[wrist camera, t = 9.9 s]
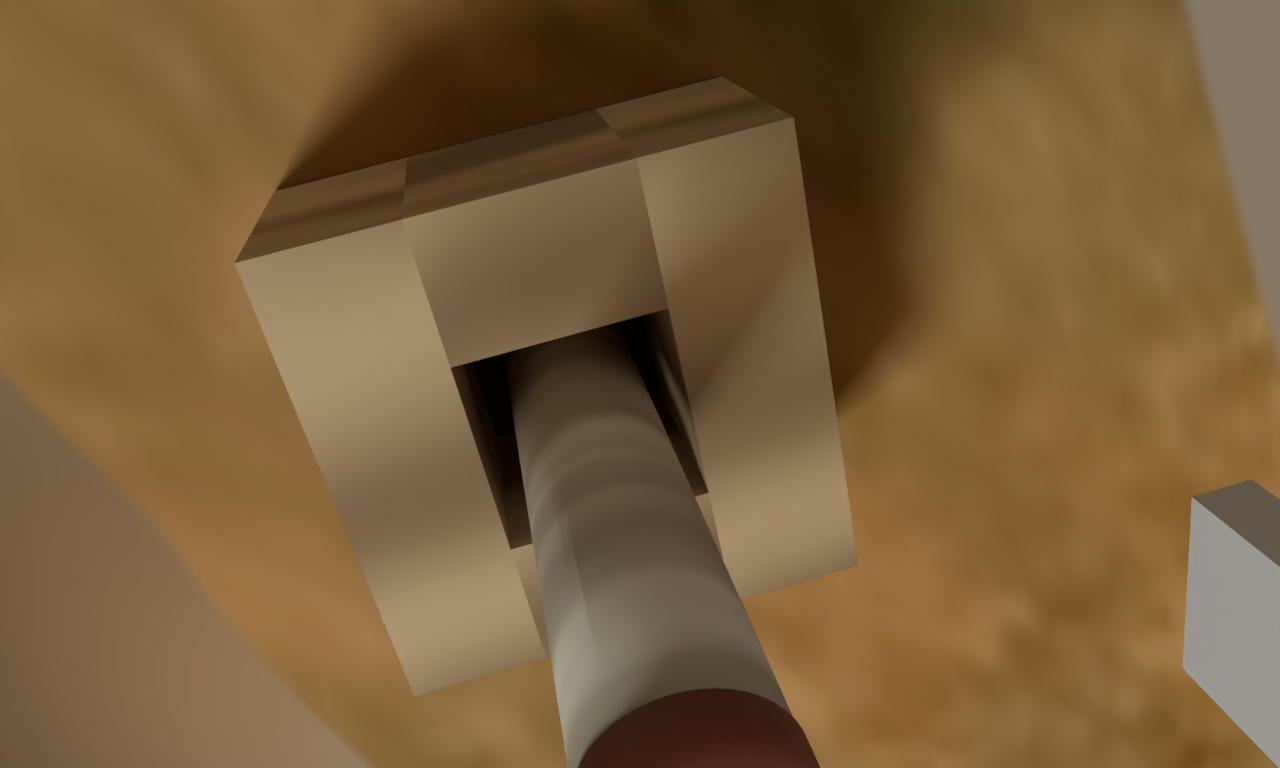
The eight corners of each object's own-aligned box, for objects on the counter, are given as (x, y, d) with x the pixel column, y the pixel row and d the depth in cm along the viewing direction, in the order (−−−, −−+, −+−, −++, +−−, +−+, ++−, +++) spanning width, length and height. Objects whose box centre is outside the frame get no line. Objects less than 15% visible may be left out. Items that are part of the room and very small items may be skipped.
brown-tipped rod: (484, 300, 24) (562, 887, 10) (605, 267, 24) (859, 795, 10) (517, 408, 25) (629, 1069, 11) (631, 376, 25) (890, 983, 11)
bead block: (274, 191, 22) (234, 263, 17) (722, 76, 23) (793, 117, 18) (417, 563, 26) (414, 696, 22) (787, 457, 27) (858, 565, 23)
